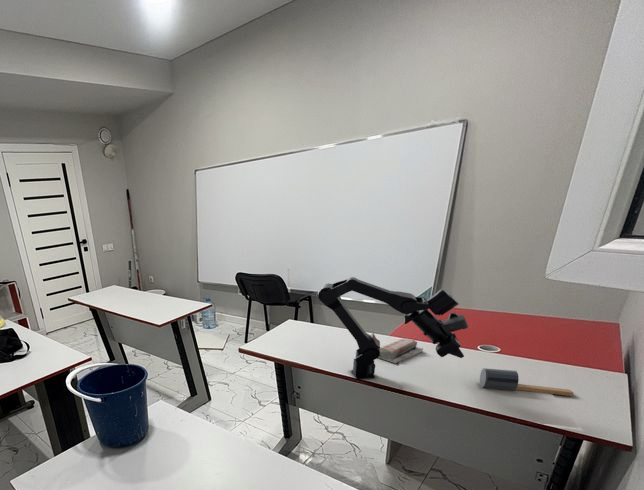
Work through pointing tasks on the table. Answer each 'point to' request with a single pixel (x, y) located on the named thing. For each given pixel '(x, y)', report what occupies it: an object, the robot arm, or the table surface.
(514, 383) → the grey cylinder
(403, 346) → the packaged product
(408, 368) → the table surface
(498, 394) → the table surface
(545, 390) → the wooden stick
